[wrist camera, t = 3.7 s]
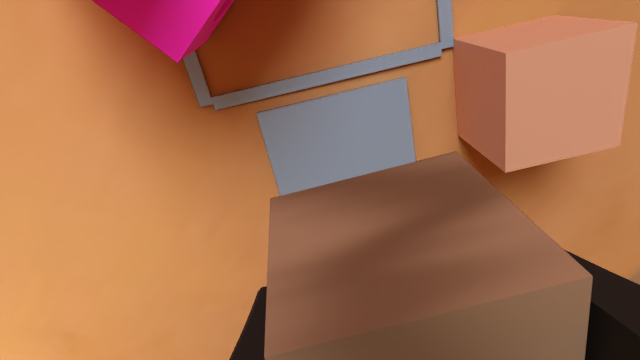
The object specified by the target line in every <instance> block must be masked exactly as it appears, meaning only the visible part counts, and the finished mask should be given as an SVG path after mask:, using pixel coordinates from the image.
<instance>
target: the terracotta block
mask: <svg viewBox="0 0 640 360" xmlns="http://www.w3.org/2000/svg"><path fill="white" fill-rule="evenodd" d="M637 25H638V22H627V21H615V20H604V19H593V18H582V17H571V16H559V15H552V16H547V17H543V18H539V19H534V20H530V21H526V22H522V23H517V24H513V25H509V26H504V27H500V28H496V29H491V30H487V31H483V32H479V33H474V34H470V35H466V36H461V37H457V38H454V46H453V61H454V79H455V97H456V115H457V134H458V136H459V137H461V138H462V139H463V140H465V141H466V142H467V143H468V144H470V145H471V146H472V147H473V148H475V149H476V150H477V151H478V152H480V153H481V154H482V155H483V156H485V157H486V158H487V159H488V160H490V161H491V162H492V163H494V164H495V165H496V166H497V167H499V168H500V169H501V170H502V171H504V172H505V173H507V172H511V171H516V170H520V169H524V168H528V167H533V166H537V165H541V164H546V163H550V162H554V161H558V160H563V159H567V158H571V157H575V156H580V155H584V154H588V153H593V152H597V151H601V150H605V149H610V148H614V147H618V146H620V142H621V135H622V128H623V121H624V114H625V108H626V101H627V94H628V87H629V80H630V73H631V66H632V59H633V52H634V45H635V38H636V32H637Z"/></svg>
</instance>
